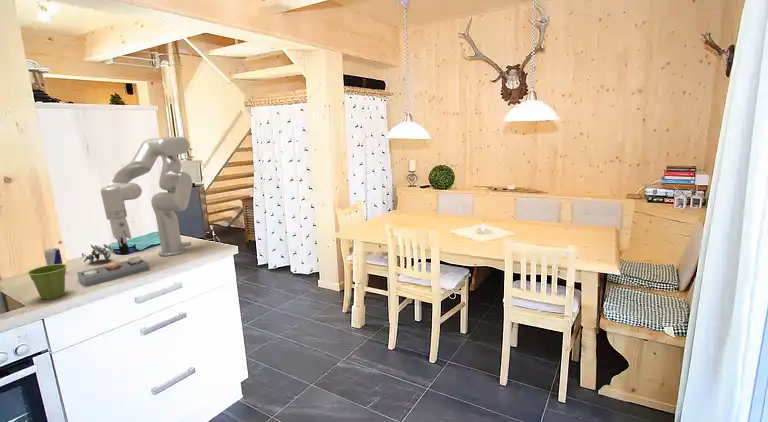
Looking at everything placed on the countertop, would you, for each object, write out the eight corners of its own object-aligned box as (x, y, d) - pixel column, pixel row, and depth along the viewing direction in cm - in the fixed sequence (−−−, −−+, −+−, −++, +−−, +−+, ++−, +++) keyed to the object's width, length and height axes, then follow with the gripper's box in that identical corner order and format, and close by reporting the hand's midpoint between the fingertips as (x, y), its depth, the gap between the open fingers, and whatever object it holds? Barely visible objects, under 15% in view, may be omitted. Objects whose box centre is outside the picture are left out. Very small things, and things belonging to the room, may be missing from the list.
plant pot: (40, 305, 146) (34, 276, 144) (28, 299, 152) (22, 271, 150) (78, 293, 156) (72, 266, 154) (65, 288, 162) (59, 262, 160)
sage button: (96, 273, 172) (95, 269, 171) (98, 276, 169) (98, 271, 168) (83, 277, 168) (82, 272, 168) (85, 279, 165) (85, 274, 165)
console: (140, 264, 188) (139, 257, 187) (149, 270, 180) (148, 262, 179) (78, 280, 170) (76, 272, 170) (85, 286, 163) (83, 278, 162)
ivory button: (139, 260, 184) (138, 255, 183) (142, 261, 181) (141, 257, 180) (127, 262, 181) (127, 258, 180) (131, 264, 177) (130, 260, 177)
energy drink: (67, 273, 180) (62, 248, 177) (54, 278, 175) (49, 252, 173) (59, 272, 182) (54, 247, 179) (46, 277, 177) (40, 251, 174)
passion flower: (110, 271, 197) (116, 254, 192) (84, 274, 189) (89, 256, 184) (104, 255, 203) (110, 238, 198) (78, 257, 194) (83, 239, 189)
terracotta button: (118, 265, 178) (117, 260, 177) (121, 267, 175) (120, 262, 174) (106, 268, 174) (105, 263, 174) (109, 270, 171) (108, 265, 171)
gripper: (131, 214, 171) (139, 254, 175) (121, 210, 181) (129, 248, 185) (111, 218, 166) (120, 259, 170) (101, 213, 176) (110, 253, 180)
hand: (125, 253), depth 178 cm, fingers closed
